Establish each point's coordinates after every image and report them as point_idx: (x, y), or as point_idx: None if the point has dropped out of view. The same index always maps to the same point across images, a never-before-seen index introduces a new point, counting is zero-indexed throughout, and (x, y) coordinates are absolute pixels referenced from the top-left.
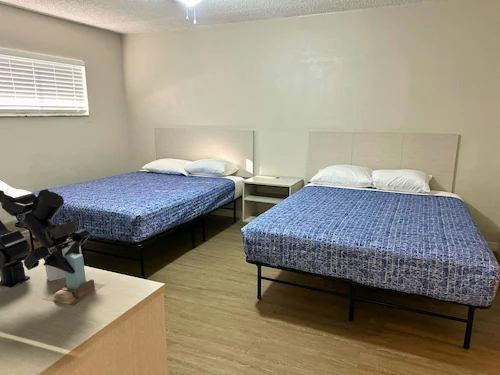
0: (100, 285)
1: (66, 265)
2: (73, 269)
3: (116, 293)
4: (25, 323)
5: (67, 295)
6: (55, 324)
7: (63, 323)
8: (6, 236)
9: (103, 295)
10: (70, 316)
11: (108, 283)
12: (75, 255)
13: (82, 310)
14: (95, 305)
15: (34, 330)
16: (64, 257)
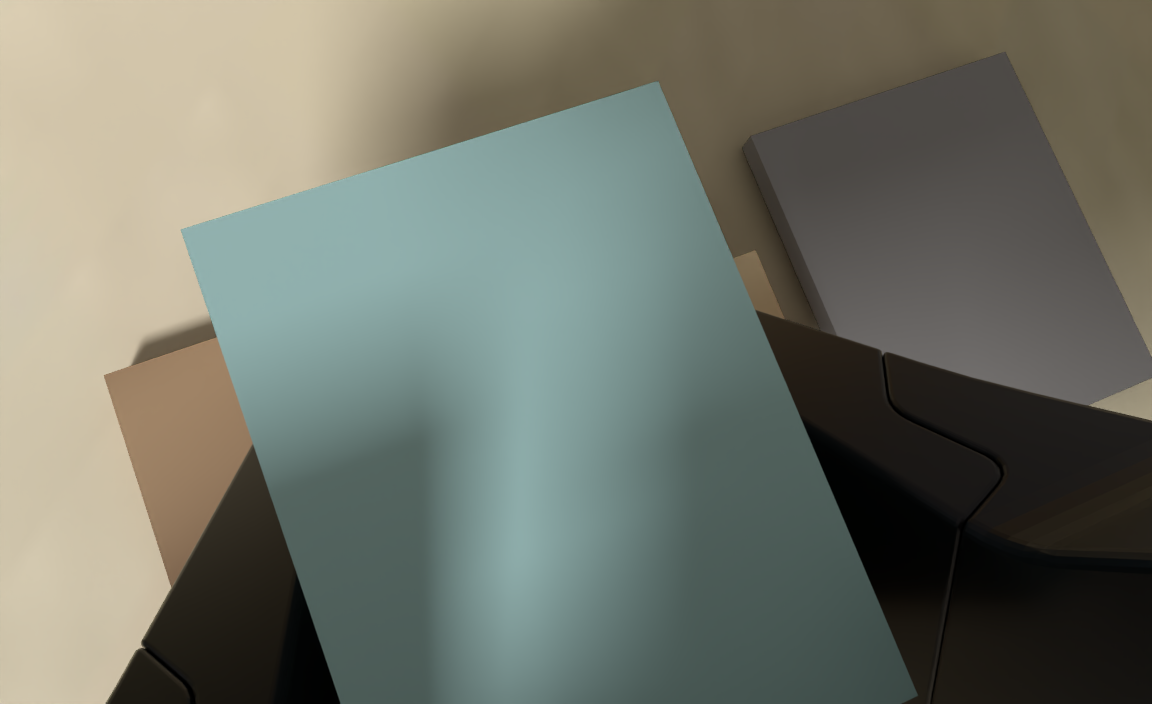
0: (163, 406)
1: (817, 344)
2: None
3: (137, 94)
4: (1136, 316)
5: (740, 258)
6: (928, 53)
7: (867, 6)
8: None
9: (280, 186)
10: (770, 68)
11: (12, 457)
12: (454, 408)
13: (631, 74)
14: (479, 51)
15: (1098, 117)
16: (872, 614)
